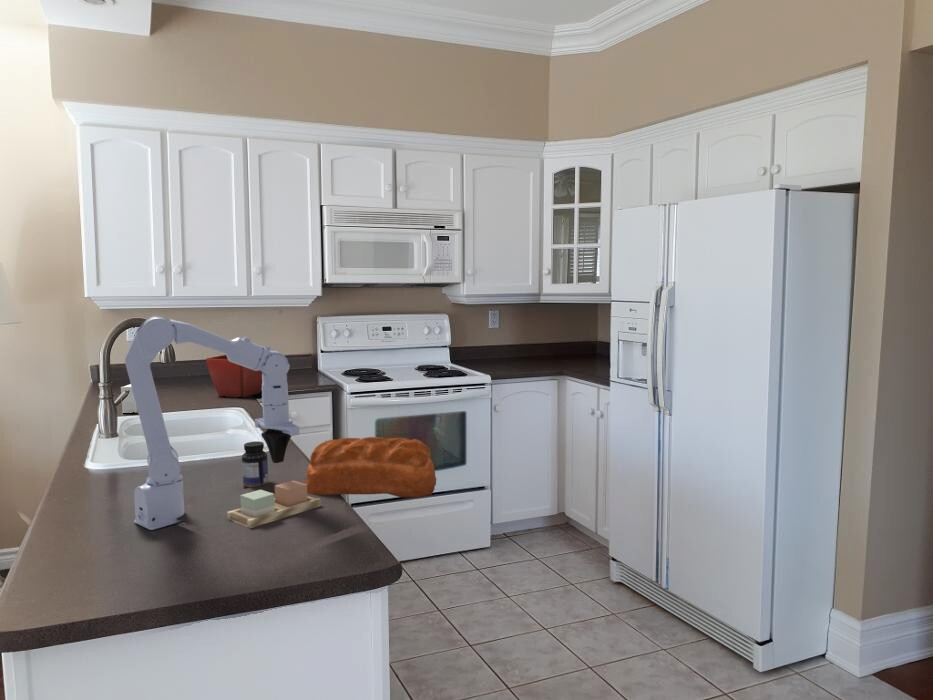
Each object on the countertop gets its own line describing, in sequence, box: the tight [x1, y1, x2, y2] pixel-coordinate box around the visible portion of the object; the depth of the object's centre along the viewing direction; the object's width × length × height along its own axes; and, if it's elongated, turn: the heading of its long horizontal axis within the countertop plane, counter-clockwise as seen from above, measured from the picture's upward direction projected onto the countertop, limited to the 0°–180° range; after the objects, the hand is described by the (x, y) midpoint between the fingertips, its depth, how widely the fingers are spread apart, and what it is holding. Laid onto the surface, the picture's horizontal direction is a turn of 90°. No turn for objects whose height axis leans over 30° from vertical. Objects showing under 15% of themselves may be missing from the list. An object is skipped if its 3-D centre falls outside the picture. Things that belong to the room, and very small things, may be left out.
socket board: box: [226, 495, 322, 529], centre depth 159 cm, size 18×9×3 cm, turn 139°
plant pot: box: [205, 354, 262, 398], centre depth 313 cm, size 19×19×17 cm
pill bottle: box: [241, 440, 269, 490], centre depth 181 cm, size 6×6×11 cm
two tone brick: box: [239, 489, 275, 518], centre depth 155 cm, size 5×5×5 cm
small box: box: [120, 383, 138, 414], centre depth 278 cm, size 8×6×10 cm
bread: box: [304, 436, 437, 499], centre depth 177 cm, size 16×31×13 cm, turn 88°
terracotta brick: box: [274, 479, 308, 507], centre depth 162 cm, size 5×5×5 cm
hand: (278, 461), depth 167 cm, fingers closed
